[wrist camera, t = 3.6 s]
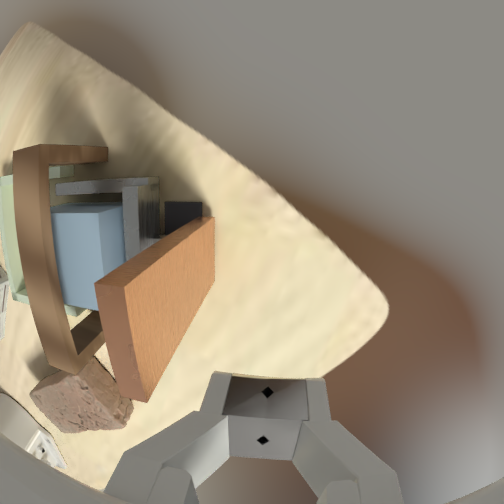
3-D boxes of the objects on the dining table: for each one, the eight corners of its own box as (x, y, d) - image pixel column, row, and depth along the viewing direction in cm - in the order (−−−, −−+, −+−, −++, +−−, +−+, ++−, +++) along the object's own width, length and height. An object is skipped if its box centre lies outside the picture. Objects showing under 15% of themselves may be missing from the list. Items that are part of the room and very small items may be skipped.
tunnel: (121, 324, 25) (75, 374, 17) (97, 319, 26) (49, 365, 17) (107, 147, 21) (39, 144, 13) (81, 151, 21) (13, 151, 13)
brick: (76, 418, 32) (62, 438, 28) (40, 378, 31) (23, 395, 26) (141, 402, 29) (126, 429, 24) (95, 349, 27) (73, 372, 23)
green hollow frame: (87, 307, 25) (77, 316, 23) (23, 293, 26) (13, 299, 24) (73, 165, 21) (59, 165, 19) (9, 176, 22) (-4, 177, 20)
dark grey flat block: (203, 288, 23) (202, 289, 23) (169, 285, 24) (168, 286, 23) (202, 202, 21) (201, 202, 21) (165, 201, 22) (164, 202, 21)
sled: (215, 314, 23) (159, 444, 10) (81, 296, 24) (-12, 370, 11) (215, 176, 20) (117, 187, 7) (69, 182, 21) (-55, 206, 8)
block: (143, 282, 24) (109, 312, 18) (75, 273, 25) (37, 297, 19) (139, 201, 22) (98, 213, 16) (68, 203, 23) (24, 214, 17)
